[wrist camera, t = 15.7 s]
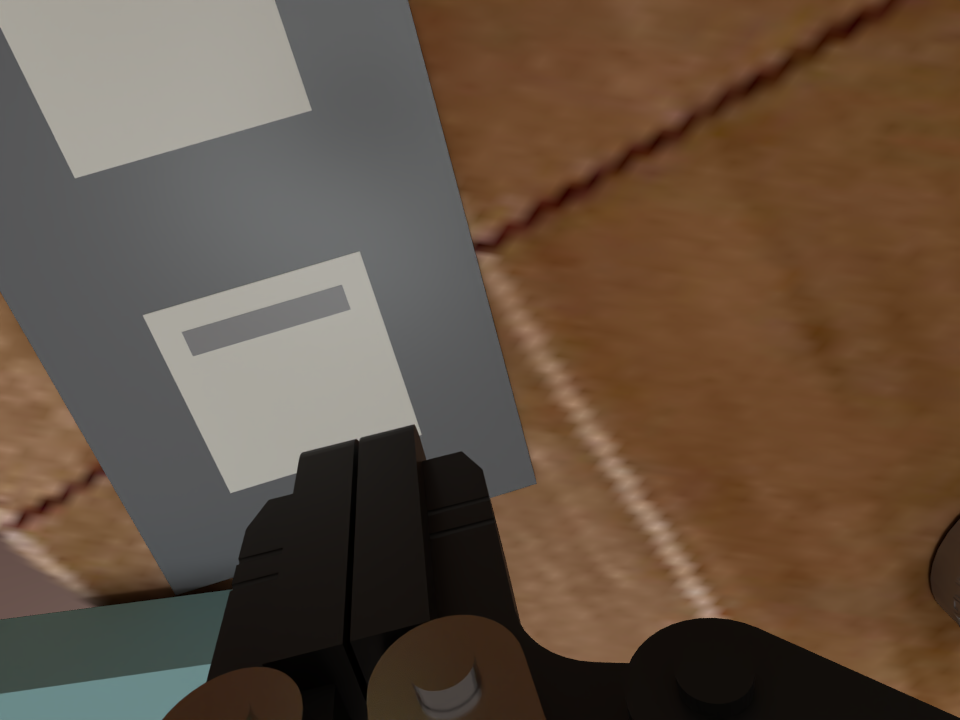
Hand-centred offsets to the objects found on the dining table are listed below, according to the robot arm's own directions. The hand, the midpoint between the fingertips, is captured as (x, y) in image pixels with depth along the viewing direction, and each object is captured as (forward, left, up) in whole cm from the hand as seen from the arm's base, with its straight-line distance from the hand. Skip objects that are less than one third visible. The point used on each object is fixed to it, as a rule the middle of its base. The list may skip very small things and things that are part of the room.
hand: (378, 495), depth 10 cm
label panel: (+5, 0, -18) cm, 19 cm away
